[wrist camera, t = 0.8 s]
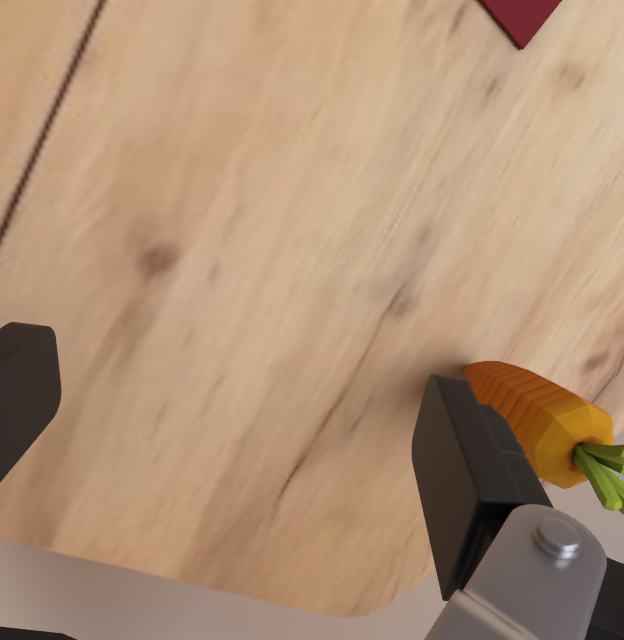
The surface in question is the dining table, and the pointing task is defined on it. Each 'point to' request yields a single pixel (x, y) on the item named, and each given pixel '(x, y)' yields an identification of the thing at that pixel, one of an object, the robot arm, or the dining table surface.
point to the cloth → (521, 16)
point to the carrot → (554, 428)
